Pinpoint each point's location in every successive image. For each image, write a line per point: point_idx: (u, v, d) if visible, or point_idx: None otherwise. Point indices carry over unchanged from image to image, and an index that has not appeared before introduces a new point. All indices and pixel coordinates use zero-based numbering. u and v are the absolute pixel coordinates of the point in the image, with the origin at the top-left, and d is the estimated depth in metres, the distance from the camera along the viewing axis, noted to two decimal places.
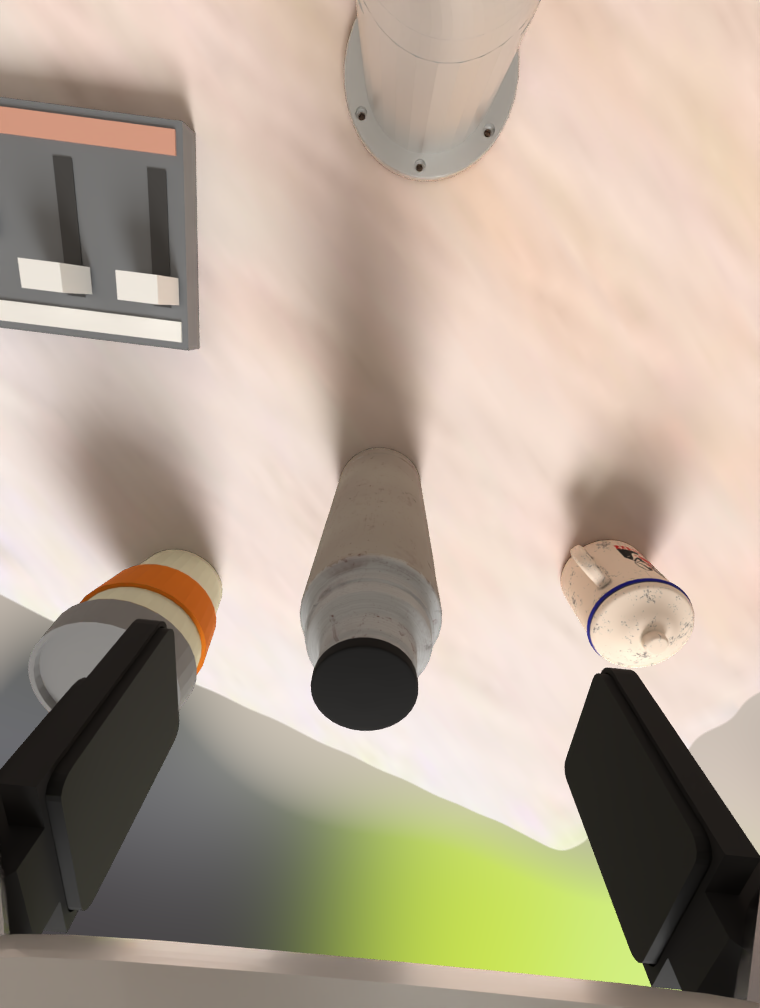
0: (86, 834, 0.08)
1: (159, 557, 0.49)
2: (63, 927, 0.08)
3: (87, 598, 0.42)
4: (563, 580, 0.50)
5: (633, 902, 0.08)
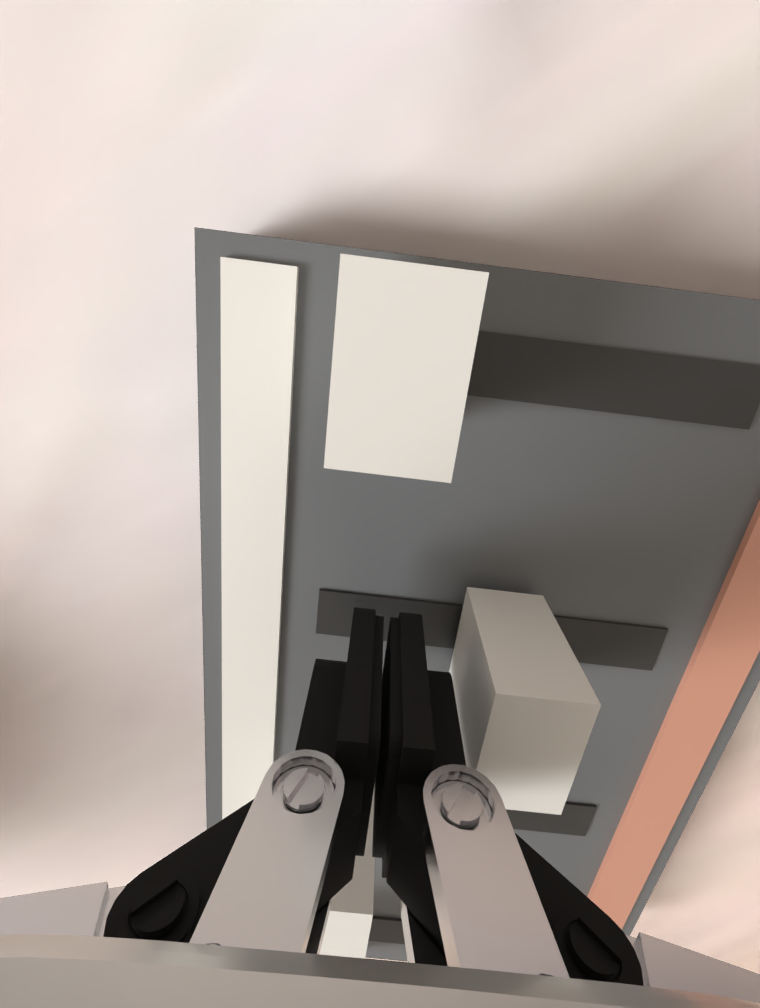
0: None
1: None
2: None
3: None
4: None
5: (376, 807, 0.09)
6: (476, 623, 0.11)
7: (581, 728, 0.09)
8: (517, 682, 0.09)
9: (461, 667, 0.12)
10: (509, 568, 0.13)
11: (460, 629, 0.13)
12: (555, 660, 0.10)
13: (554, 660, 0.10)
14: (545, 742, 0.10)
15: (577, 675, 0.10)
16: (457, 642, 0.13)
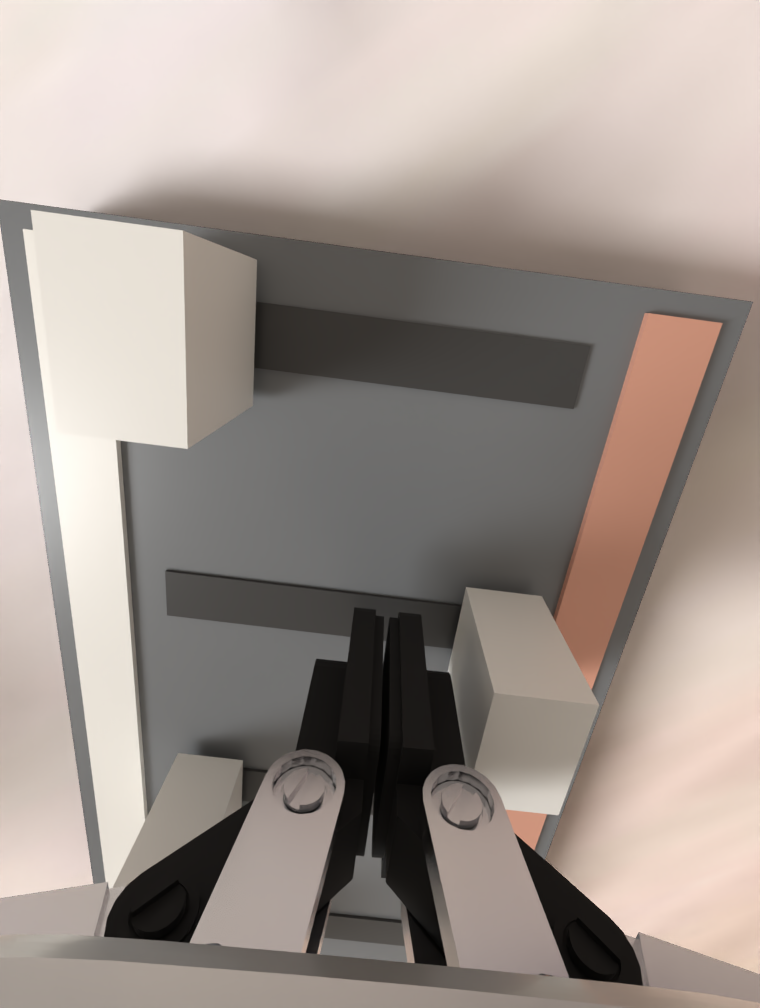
0: None
1: None
2: None
3: None
4: None
5: (376, 807, 0.09)
6: (475, 623, 0.11)
7: (579, 728, 0.09)
8: (515, 682, 0.09)
9: (459, 667, 0.12)
10: (354, 550, 0.13)
11: (459, 629, 0.13)
12: (554, 661, 0.10)
13: (552, 660, 0.10)
14: (543, 742, 0.10)
15: (575, 675, 0.10)
16: (456, 642, 0.13)
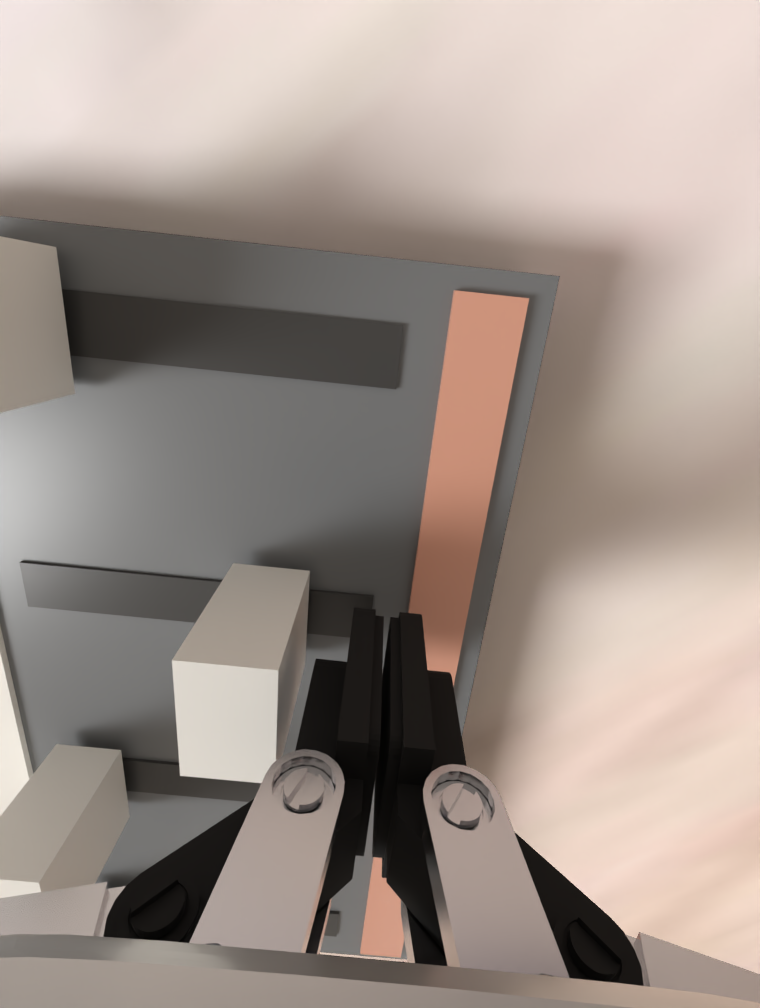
0: None
1: None
2: None
3: None
4: None
5: (376, 807, 0.09)
6: (212, 596, 0.11)
7: (266, 695, 0.09)
8: (205, 650, 0.09)
9: None
10: (202, 537, 0.13)
11: None
12: (266, 630, 0.10)
13: (265, 630, 0.10)
14: (236, 710, 0.10)
15: (278, 643, 0.10)
16: None
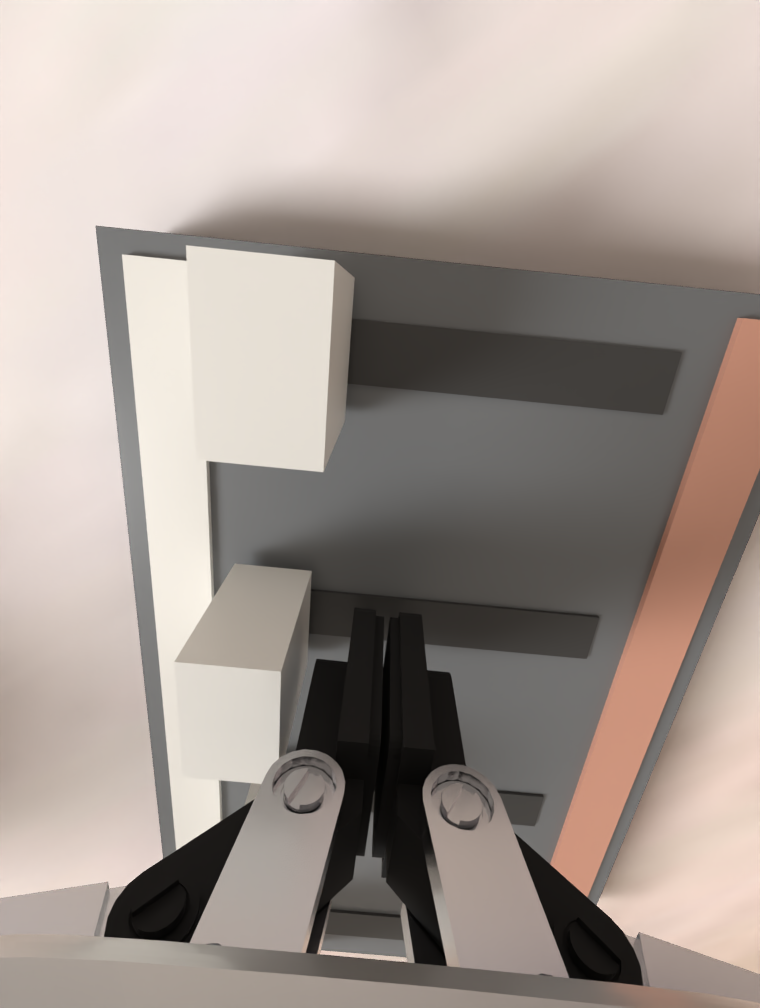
0: None
1: None
2: None
3: None
4: None
5: (376, 807, 0.09)
6: (214, 597, 0.11)
7: (269, 696, 0.09)
8: (207, 651, 0.09)
9: None
10: (437, 559, 0.13)
11: None
12: (268, 631, 0.10)
13: (267, 630, 0.10)
14: (238, 711, 0.10)
15: (280, 644, 0.10)
16: None
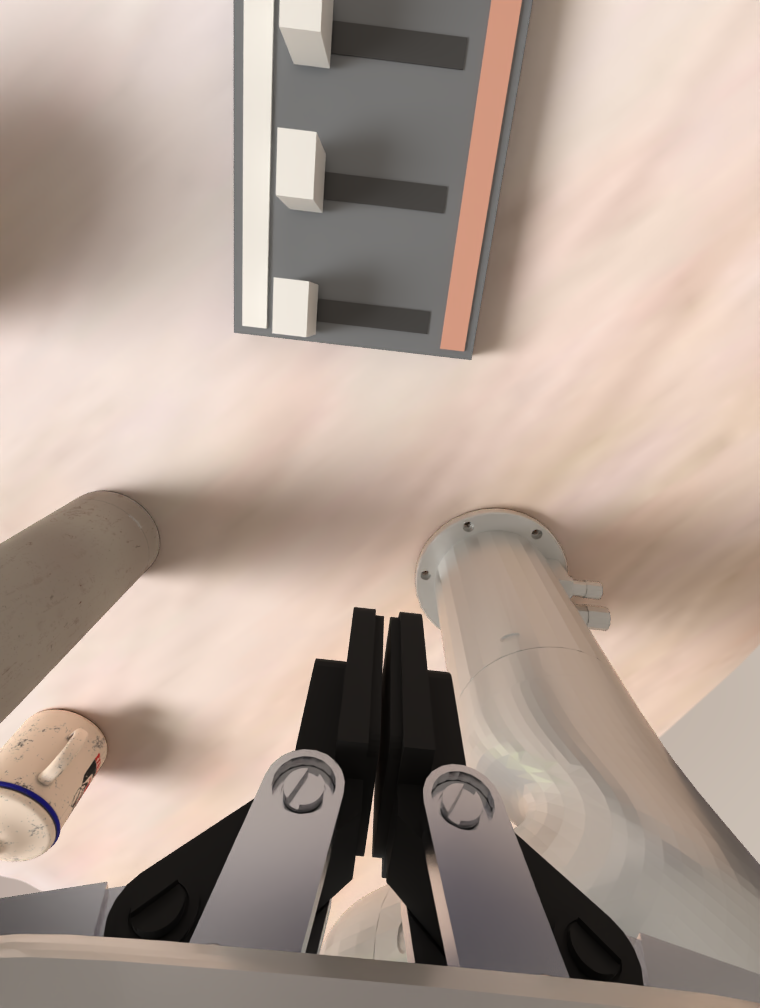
0: None
1: None
2: None
3: None
4: (49, 715, 0.47)
5: (376, 807, 0.09)
6: None
7: None
8: None
9: None
10: None
11: None
12: None
13: None
14: None
15: None
16: None
